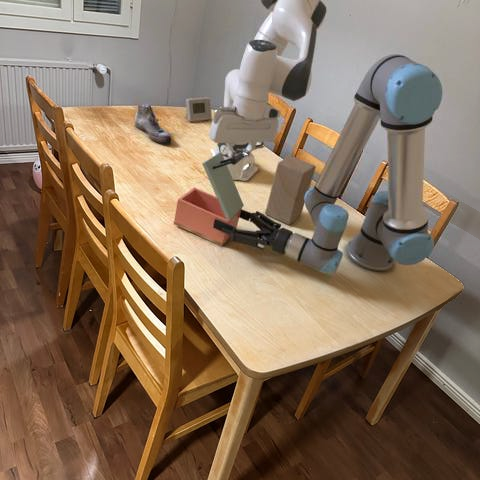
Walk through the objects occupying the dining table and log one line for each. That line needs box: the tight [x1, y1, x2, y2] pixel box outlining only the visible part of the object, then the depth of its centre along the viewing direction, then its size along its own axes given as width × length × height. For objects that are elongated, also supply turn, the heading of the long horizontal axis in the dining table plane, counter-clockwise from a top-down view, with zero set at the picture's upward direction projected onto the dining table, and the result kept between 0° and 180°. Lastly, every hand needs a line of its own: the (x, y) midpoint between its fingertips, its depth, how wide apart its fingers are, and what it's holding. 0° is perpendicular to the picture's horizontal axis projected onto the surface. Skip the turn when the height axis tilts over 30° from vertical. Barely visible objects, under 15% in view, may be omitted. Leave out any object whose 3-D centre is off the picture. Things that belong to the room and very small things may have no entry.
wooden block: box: [264, 155, 317, 226], centre depth 152 cm, size 10×10×20 cm
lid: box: [201, 152, 245, 220], centre depth 128 cm, size 18×10×9 cm
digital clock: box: [185, 96, 213, 123], centre depth 224 cm, size 16×9×11 cm, turn 123°
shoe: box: [134, 102, 172, 145], centre depth 194 cm, size 25×11×12 cm, turn 30°
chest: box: [173, 187, 243, 247], centre depth 137 cm, size 17×10×9 cm, turn 66°
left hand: (238, 156), depth 123 cm, fingers closed on lid, 4 cm apart
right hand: (223, 216), depth 135 cm, fingers closed on chest, 10 cm apart
